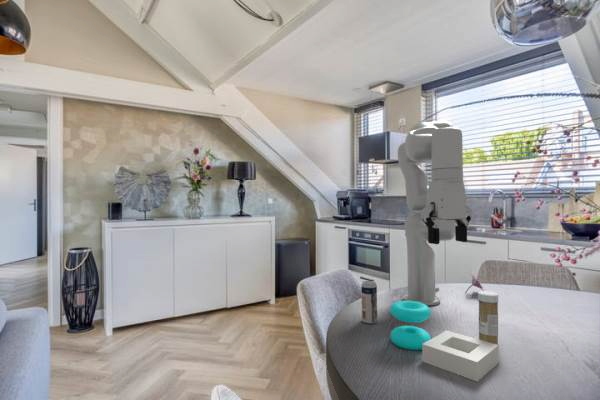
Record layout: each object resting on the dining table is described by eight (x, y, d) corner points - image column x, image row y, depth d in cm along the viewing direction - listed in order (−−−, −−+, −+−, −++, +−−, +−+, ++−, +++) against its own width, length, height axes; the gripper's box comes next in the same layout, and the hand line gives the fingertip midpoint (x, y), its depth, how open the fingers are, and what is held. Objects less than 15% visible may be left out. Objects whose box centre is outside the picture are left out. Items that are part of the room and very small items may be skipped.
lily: (478, 302, 126) (491, 280, 125) (449, 284, 134) (462, 263, 134) (487, 305, 134) (500, 284, 133) (460, 288, 143) (472, 268, 142)
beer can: (377, 325, 102) (377, 284, 102) (361, 324, 103) (360, 284, 103) (377, 319, 106) (376, 281, 106) (361, 318, 107) (361, 280, 107)
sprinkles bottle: (475, 342, 89) (474, 290, 89) (492, 341, 89) (492, 290, 89) (484, 349, 84) (483, 295, 84) (502, 349, 84) (502, 295, 84)
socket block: (446, 346, 87) (446, 330, 87) (498, 362, 78) (498, 345, 78) (422, 361, 79) (422, 344, 79) (477, 381, 70) (477, 362, 70)
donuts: (438, 305, 87) (414, 313, 82) (439, 345, 87) (415, 355, 82) (406, 297, 96) (382, 303, 90) (406, 332, 96) (382, 342, 90)
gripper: (458, 178, 96) (459, 239, 95) (410, 176, 88) (411, 243, 88) (482, 176, 89) (483, 242, 89) (433, 174, 82) (434, 246, 81)
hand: (447, 242), depth 88 cm, fingers open, 9 cm apart
